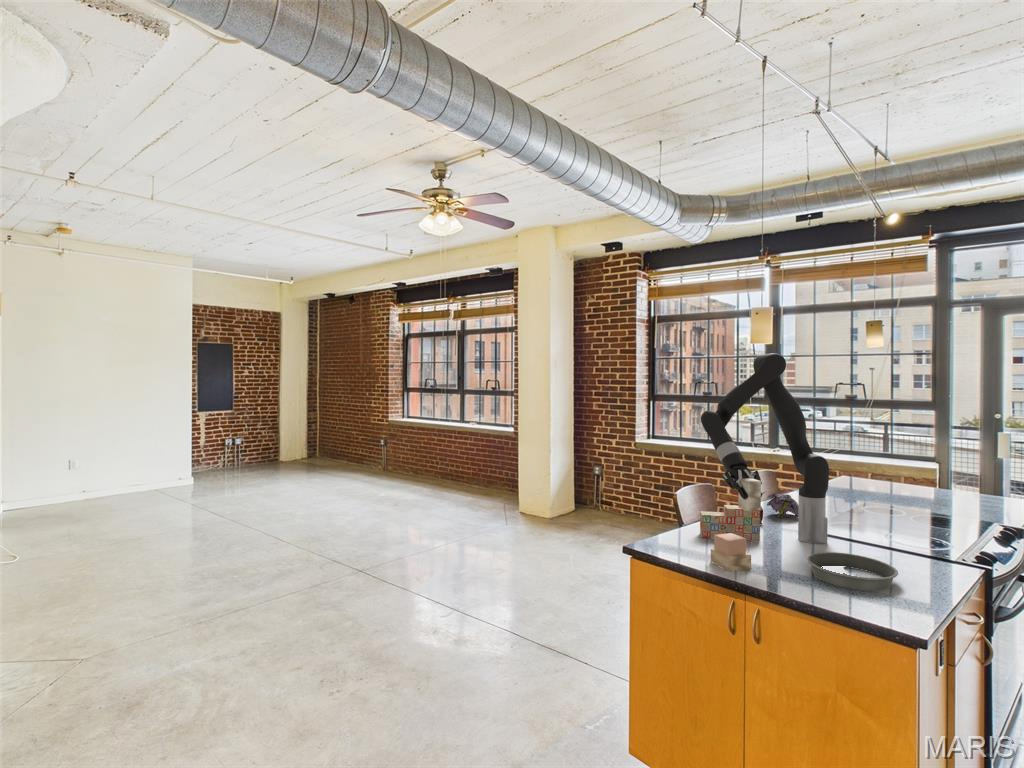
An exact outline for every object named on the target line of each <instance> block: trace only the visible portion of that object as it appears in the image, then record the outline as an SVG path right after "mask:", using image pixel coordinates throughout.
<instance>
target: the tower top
mask: <svg viewBox="0 0 1024 768" xmlns="http://www.w3.org/2000/svg"><path fill="white" fill-rule="evenodd" d="M713 540H714V541H713V542H714V550H716V551H719V552H721V553H723V554H725V555H728V556H732V555H740V554H746V552H747V541H746V538H743V537H740V536H738V535H735V534H733V533H727V534H718V535H714V539H713Z"/></svg>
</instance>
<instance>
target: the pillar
mask: <svg viewBox="0 0 1024 768" xmlns="http://www.w3.org/2000/svg"><path fill="white" fill-rule="evenodd" d="M761 482H762V480H761V481H759V480H756V479H750V478H746V479H741V483H742V485H743V487H744V489H745V491H746V493H747V494H748V498H747V499H746V500H744V499H743V498H742V497H741V495H740V494H739V493H738V499H737V500H738V503H737V504H738V505H737V506H738V508H741V509H744V510H747V511H755V510H761V507H762V505H761V504H762V503H761V502H762V497H761V492H762V484H761Z"/></svg>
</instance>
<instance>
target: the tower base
mask: <svg viewBox="0 0 1024 768" xmlns="http://www.w3.org/2000/svg"><path fill="white" fill-rule="evenodd" d="M711 562H713V563H714V564H716V565H718V566H720V567H722V568H723V570H724V569H725V570H724V571H726V570H727V572H734V571H733V570H736V571H741V570H742V571H744V569H745V570H751V569H752V554H751V553H749V552H747V551H746V554H740V555H732V556H728V555H725V554H723V553H721V552H719V551H716V550H714V548H710V563H711ZM713 563H712V564H713ZM714 564H713V565H714ZM716 565H715V566H716ZM718 566H717V567H718ZM720 567H719V568H720ZM722 568H721V569H722Z"/></svg>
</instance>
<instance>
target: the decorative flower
mask: <svg viewBox="0 0 1024 768" xmlns="http://www.w3.org/2000/svg"><path fill="white" fill-rule="evenodd" d="M769 498H772V499H769ZM766 499H769V501H768V502H767V504H766V506H767V507H769V506H770V507H771V508H772V510H773V511H775V512H776V513H777V512H778V513H777V518H778V519H780V518H781V516H782V517H784V516H785V514H787V513H791V514H793V515H794V516H795V518H798V504H799V503H798V502H797V501H796V500H795V499H793V498H792V496H791V495H790V494H788V493H787V494H785V493H783V492H782V493H781V492H776V493H775V492H774V493H771V494H768V496H767V497H766ZM783 512H785V513H783Z"/></svg>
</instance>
